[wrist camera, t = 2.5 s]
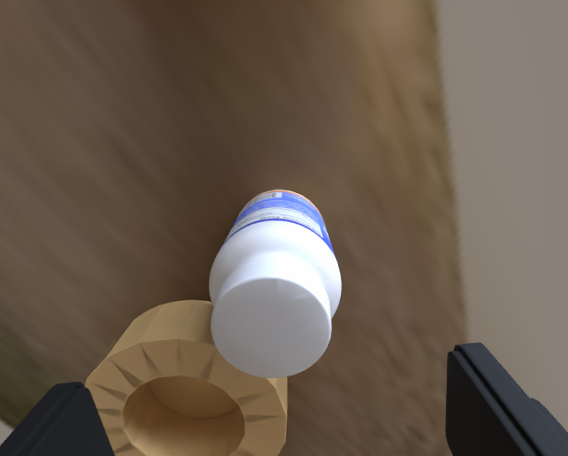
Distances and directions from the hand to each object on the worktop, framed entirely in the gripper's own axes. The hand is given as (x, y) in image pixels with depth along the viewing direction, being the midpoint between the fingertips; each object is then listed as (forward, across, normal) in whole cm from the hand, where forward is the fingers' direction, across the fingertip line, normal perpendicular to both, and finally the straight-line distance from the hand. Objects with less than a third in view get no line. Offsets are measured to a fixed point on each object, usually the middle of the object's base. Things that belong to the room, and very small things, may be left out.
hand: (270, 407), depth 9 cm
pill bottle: (+12, 0, -1) cm, 12 cm away
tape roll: (+12, +7, +9) cm, 17 cm away
